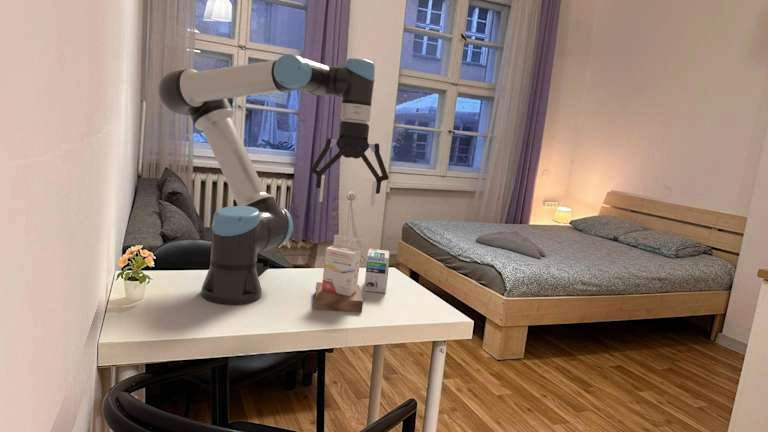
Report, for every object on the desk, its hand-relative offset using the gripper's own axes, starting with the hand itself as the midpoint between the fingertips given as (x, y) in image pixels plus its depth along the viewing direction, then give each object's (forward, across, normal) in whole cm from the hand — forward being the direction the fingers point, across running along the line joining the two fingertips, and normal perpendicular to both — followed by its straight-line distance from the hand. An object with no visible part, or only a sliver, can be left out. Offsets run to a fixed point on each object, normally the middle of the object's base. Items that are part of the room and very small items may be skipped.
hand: (346, 203), depth 138 cm
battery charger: (+28, -26, +22) cm, 44 cm away
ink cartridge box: (+24, 0, 0) cm, 24 cm away
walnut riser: (+27, 0, 0) cm, 27 cm away
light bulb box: (+27, +12, +16) cm, 34 cm away
